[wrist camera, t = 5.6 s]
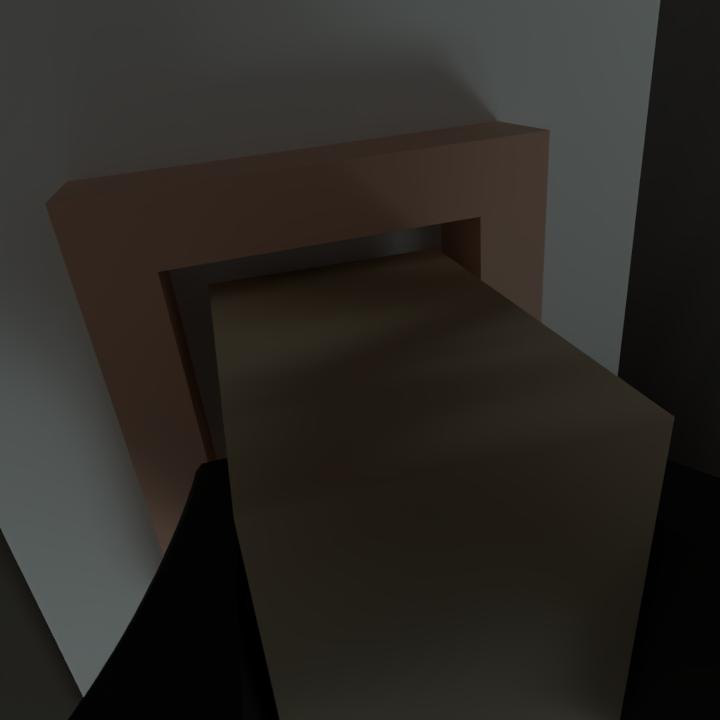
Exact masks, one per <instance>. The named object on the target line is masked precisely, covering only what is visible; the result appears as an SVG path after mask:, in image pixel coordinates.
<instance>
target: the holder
mask: <svg viewBox="0 0 720 720" xmlns="http://www.w3.org/2000/svg"><path fill="white" fill-rule="evenodd" d="M659 7H660V0H0V528H1V530H2V532H3V534H4V536H5V538H6V541H7V543H8V545H9V547H10V549H11V551H12V553H13V555H14V557H15V559H16V561H17V563H18V565H19V567H20V569H21V571H22V573H23V575H24V577H25V579H26V581H27V583H28V585H29V587H30V589H31V591H32V593H33V595H34V598H35V600H36V602H37V604H38V606H39V608H40V610H41V612H42V614H43V616H44V618H45V620H46V622H47V624H48V626H49V628H50V630H51V632H52V634H53V636H54V638H55V640H56V642H57V644H58V646H59V648H60V650H61V652H62V655H63V657H64V659H65V661H66V663H67V665H68V667H69V669H70V671H71V673H72V675H73V677H74V679H75V681H76V683H77V685H78V687H79V689H80V691H81V693H82V695H83V697H84V696H85V694H86V693H87V691H88V690H89V689H90V687H91V685H92V684H93V682H94V681H95V679H96V678H97V676H98V675H99V673H100V671H101V670H102V668H103V667H104V665H105V663H106V662H107V660H108V659H109V657H110V655H111V654H112V652H113V651H114V649H115V647H116V646H117V644H118V642H119V640H120V639H121V637H122V635H123V634H124V632H125V630H126V628H127V627H128V625H129V623H130V621H131V620H132V618H133V616H134V614H135V612H136V610H137V608H138V606H139V605H140V603H141V601H142V599H143V597H144V595H145V593H146V591H147V589H148V587H149V585H150V583H151V581H152V579H153V577H154V575H155V574H156V572H157V570H158V567H159V565H160V563H161V561H162V559H163V557H164V554H165V552H166V550H167V548H168V545H169V543H170V541H171V538H172V536H173V534H174V532H175V529H176V527H177V525H178V522H179V520H180V517H181V515H182V512H183V509H184V507H185V504H186V501H187V499H188V496H189V493H190V490H191V487H192V483H193V480H194V476H195V473H196V470H197V469H198V468H199V466H200V465H201V464H202V463H207V462H211V461H215V460H220V459H224V458H227V451H226V441H225V432H224V423H223V413H222V404H221V395H220V386H219V376H218V367H217V358H216V349H215V339H214V330H213V321H212V312H211V302H210V293H209V284H214V283H220V282H226V281H232V280H239V279H245V278H251V277H258V276H264V275H270V274H276V273H283V272H289V271H295V270H302V269H308V268H314V267H320V266H327V265H333V264H339V263H346V262H352V261H358V260H364V259H371V258H377V257H383V256H390V255H396V254H402V253H408V252H415V251H421V250H427V249H434V248H437V249H438V250H439V251H441V252H442V253H444V254H445V255H446V256H448V257H449V258H451V259H452V260H454V261H455V262H456V263H458V264H459V265H461V266H462V267H463V268H465V269H466V270H468V271H469V272H470V273H472V274H473V275H475V276H476V277H478V278H479V279H480V280H482V281H483V282H485V283H486V284H487V285H489V286H490V287H492V288H493V289H495V290H496V291H497V292H499V293H500V294H502V295H503V296H504V297H506V298H507V299H509V300H510V301H511V302H513V303H514V304H516V305H517V306H519V307H520V308H521V309H523V310H524V311H526V312H527V313H528V314H530V315H531V316H533V317H534V318H535V319H537V320H538V321H540V322H541V323H543V324H544V325H545V326H547V327H548V328H550V329H551V330H552V331H554V332H555V333H557V334H558V335H560V336H561V337H562V338H564V339H565V340H567V341H568V342H569V343H571V344H572V345H574V346H575V347H576V348H578V349H579V350H581V351H582V352H584V353H585V354H586V355H588V356H589V357H591V358H592V359H593V360H595V361H596V362H598V363H599V364H600V365H602V366H603V367H605V368H606V369H608V370H609V371H610V372H612V373H613V374H615V375H616V376H618V368H619V359H620V350H621V341H622V332H623V324H624V315H625V306H626V297H627V288H628V280H629V271H630V262H631V253H632V244H633V236H634V227H635V218H636V209H637V200H638V192H639V183H640V174H641V165H642V156H643V148H644V139H645V130H646V121H647V112H648V103H649V95H650V86H651V77H652V68H653V59H654V51H655V42H656V33H657V24H658V15H659Z"/></svg>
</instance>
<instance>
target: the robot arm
mask: <svg viewBox="0 0 720 720" xmlns="http://www.w3.org/2000/svg"><path fill="white" fill-rule="evenodd" d="M68 720H280V719H279V715H278V711H277V706H276V702H275V698H274V693H273V689H272V684H271V680H270V676H269V671H268V667H267V663H266V658H265V654H264V649H263V645H262V641H261V636H260V632H259V627H258V623H257V619H256V614H255V610H254V606H253V601H252V597H251V592H250V588H249V584H248V579H247V575H246V571H245V566H244V562H243V557H242V553H241V549H240V544H239V540H238V536H237V531H236V527H235V522H234V515H233V506H232V497H231V488H230V478H229V469H228V460H227V458H224V459H220V460H215V461H211V462H207V463H202V464H201V465H200V466H199V468H198V469H197V470H196V473H195V476H194V480H193V483H192V487H191V490H190V493H189V496H188V499H187V501H186V504H185V507H184V509H183V512H182V515H181V517H180V520H179V522H178V525H177V527H176V529H175V532H174V534H173V536H172V538H171V541H170V543H169V545H168V548H167V550H166V552H165V554H164V557H163V559H162V561H161V563H160V565H159V567H158V570H157V572H156V574H155V575H154V577H153V579H152V581H151V583H150V585H149V587H148V589H147V591H146V593H145V595H144V597H143V599H142V601H141V603H140V605H139V606H138V608H137V610H136V612H135V614H134V616H133V618H132V620H131V621H130V623H129V625H128V627H127V628H126V630H125V632H124V634H123V635H122V637H121V639H120V640H119V642H118V644H117V646H116V647H115V649H114V651H113V652H112V654H111V655H110V657H109V659H108V660H107V662H106V663H105V665H104V667H103V668H102V670H101V671H100V673H99V675H98V676H97V678H96V679H95V681H94V682H93V684H92V685H91V687H90V689H89V690H88V691H87V693H86V694H85V696H84V697H83V699H82V700H81V702H80V703H79V705H78V706H77V707H76V709H75V710H74V712H73V713H72V715H71V716H70V718H69V719H68ZM620 720H720V478H717V477H714V476H711V475H708V474H706V473H703V472H700V471H697V470H694V469H691V468H688V467H686V466H683V465H680V464H678V463H675V462H672V461H670V460H667V462H666V468H665V473H664V479H663V484H662V490H661V495H660V501H659V506H658V512H657V517H656V523H655V528H654V534H653V539H652V545H651V550H650V556H649V561H648V567H647V573H646V578H645V584H644V589H643V595H642V600H641V606H640V611H639V617H638V622H637V628H636V633H635V639H634V644H633V650H632V655H631V661H630V666H629V672H628V678H627V683H626V689H625V694H624V700H623V705H622V711H621V716H620Z"/></svg>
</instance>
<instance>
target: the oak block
mask: <svg viewBox="0 0 720 720" xmlns="http://www.w3.org/2000/svg"><path fill="white" fill-rule="evenodd" d="M209 293H210V302H211V312H212V321H213V330H214V339H215V349H216V358H217V367H218V376H219V386H220V395H221V404H222V413H223V423H224V432H225V441H226V451H227V460H228V469H229V478H230V488H231V497H232V506H233V515H234V522H235V527H236V531H237V536H238V540H239V544H240V549H241V553H242V557H243V562H244V566H245V571H246V575H247V579H248V584H249V588H250V592H251V597H252V601H253V606H254V610H255V614H256V619H257V623H258V627H259V632H260V636H261V641H262V645H263V649H264V654H265V658H266V663H267V667H268V671H269V676H270V680H271V684H272V689H273V693H274V698H275V702H276V706H277V711H278V715H279V719H280V720H620V716H621V711H622V705H623V700H624V694H625V689H626V683H627V678H628V672H629V666H630V661H631V655H632V650H633V644H634V639H635V633H636V628H637V622H638V617H639V611H640V606H641V600H642V595H643V589H644V584H645V578H646V573H647V567H648V561H649V556H650V550H651V545H652V539H653V534H654V528H655V523H656V517H657V512H658V506H659V501H660V495H661V490H662V484H663V479H664V473H665V468H666V462H667V456H668V451H669V445H670V440H671V434H672V429H673V423H674V418H675V417H674V416H673V415H671V414H670V413H668V412H667V411H666V410H664V409H663V408H661V407H660V406H658V405H657V404H656V403H654V402H653V401H651V400H650V399H649V398H647V397H646V396H644V395H643V394H641V393H640V392H639V391H637V390H636V389H634V388H633V387H632V386H630V385H629V384H627V383H626V382H625V381H623V380H622V379H620V378H619V377H617V376H616V375H615V374H613V373H612V372H610V371H609V370H608V369H606V368H605V367H603V366H602V365H600V364H599V363H598V362H596V361H595V360H593V359H592V358H591V357H589V356H588V355H586V354H585V353H584V352H582V351H581V350H579V349H578V348H576V347H575V346H574V345H572V344H571V343H569V342H568V341H567V340H565V339H564V338H562V337H561V336H560V335H558V334H557V333H555V332H554V331H552V330H551V329H550V328H548V327H547V326H545V325H544V324H543V323H541V322H540V321H538V320H537V319H535V318H534V317H533V316H531V315H530V314H528V313H527V312H526V311H524V310H523V309H521V308H520V307H519V306H517V305H516V304H514V303H513V302H511V301H510V300H509V299H507V298H506V297H504V296H503V295H502V294H500V293H499V292H497V291H496V290H495V289H493V288H492V287H490V286H489V285H487V284H486V283H485V282H483V281H482V280H480V279H479V278H478V277H476V276H475V275H473V274H472V273H470V272H469V271H468V270H466V269H465V268H463V267H462V266H461V265H459V264H458V263H456V262H455V261H454V260H452V259H451V258H449V257H448V256H446V255H445V254H444V253H442V252H441V251H439V250H438V249H437V248H434V249H427V250H421V251H415V252H408V253H402V254H396V255H390V256H383V257H377V258H371V259H364V260H358V261H352V262H346V263H339V264H333V265H327V266H320V267H314V268H308V269H302V270H295V271H289V272H283V273H276V274H270V275H264V276H258V277H251V278H245V279H239V280H232V281H226V282H220V283H214V284H209Z"/></svg>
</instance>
